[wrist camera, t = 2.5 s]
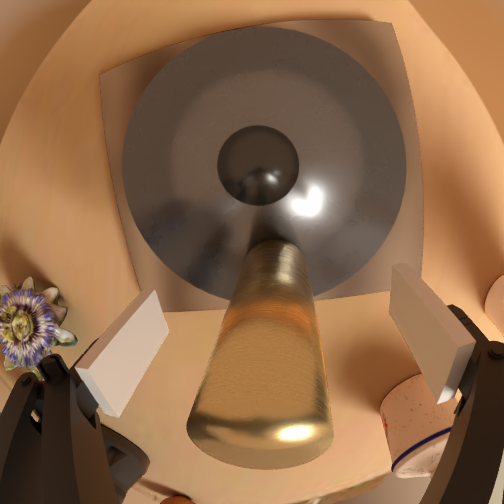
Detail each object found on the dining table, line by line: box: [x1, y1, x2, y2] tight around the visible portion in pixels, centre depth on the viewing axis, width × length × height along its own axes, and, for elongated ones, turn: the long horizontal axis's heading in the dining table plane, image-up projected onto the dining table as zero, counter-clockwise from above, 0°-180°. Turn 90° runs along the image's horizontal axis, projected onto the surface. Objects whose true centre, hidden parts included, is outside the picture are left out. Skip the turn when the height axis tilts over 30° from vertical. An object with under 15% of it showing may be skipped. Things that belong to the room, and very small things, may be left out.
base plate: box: [99, 19, 424, 312], centre depth 18 cm, size 22×20×2 cm
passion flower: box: [0, 277, 78, 381], centre depth 23 cm, size 11×11×12 cm
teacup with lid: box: [380, 374, 458, 479], centre depth 19 cm, size 12×9×12 cm
